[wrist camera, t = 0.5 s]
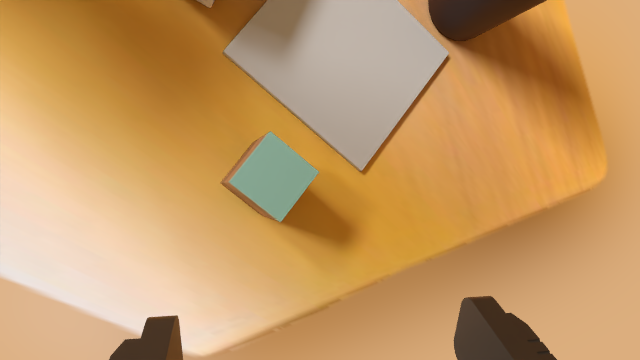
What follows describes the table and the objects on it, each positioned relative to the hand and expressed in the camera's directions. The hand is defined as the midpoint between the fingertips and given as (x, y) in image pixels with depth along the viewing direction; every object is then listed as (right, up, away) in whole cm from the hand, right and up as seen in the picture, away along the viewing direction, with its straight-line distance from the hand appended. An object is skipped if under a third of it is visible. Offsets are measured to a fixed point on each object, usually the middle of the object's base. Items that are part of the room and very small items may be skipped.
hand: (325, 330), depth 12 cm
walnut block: (-6, +4, +26) cm, 27 cm away
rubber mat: (+2, +16, +28) cm, 33 cm away
